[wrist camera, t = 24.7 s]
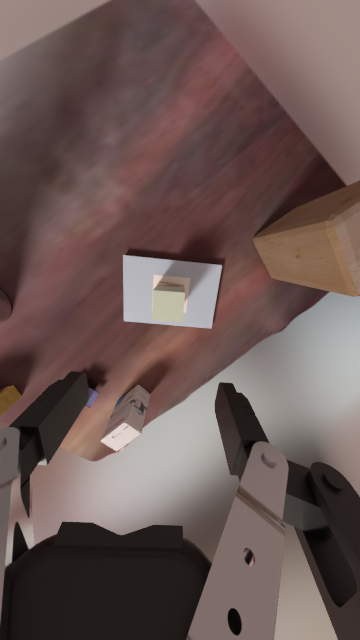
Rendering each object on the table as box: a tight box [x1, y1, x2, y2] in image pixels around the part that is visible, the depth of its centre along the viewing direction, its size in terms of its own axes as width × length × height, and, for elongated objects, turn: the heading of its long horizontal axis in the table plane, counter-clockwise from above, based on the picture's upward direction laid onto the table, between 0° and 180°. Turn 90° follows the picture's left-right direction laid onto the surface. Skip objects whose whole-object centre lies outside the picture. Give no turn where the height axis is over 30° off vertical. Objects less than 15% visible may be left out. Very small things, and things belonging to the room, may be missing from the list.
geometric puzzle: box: [85, 380, 100, 408], centre depth 44 cm, size 7×7×8 cm
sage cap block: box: [152, 285, 185, 323], centre depth 30 cm, size 5×5×5 cm
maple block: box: [157, 281, 184, 287], centre depth 35 cm, size 5×5×5 cm
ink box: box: [101, 385, 150, 451], centre depth 43 cm, size 9×5×12 cm, turn 132°
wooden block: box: [253, 181, 360, 296], centre depth 27 cm, size 10×10×20 cm
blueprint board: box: [123, 255, 222, 328], centre depth 38 cm, size 20×14×2 cm
